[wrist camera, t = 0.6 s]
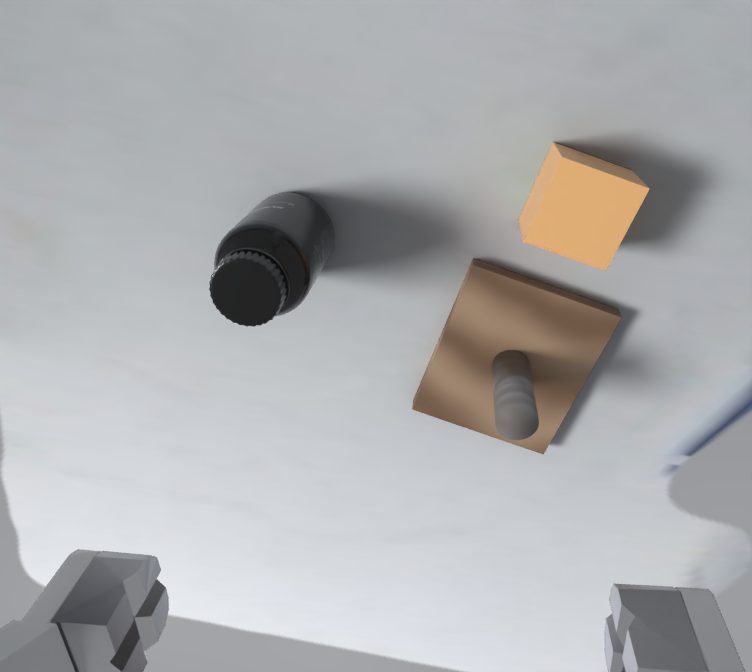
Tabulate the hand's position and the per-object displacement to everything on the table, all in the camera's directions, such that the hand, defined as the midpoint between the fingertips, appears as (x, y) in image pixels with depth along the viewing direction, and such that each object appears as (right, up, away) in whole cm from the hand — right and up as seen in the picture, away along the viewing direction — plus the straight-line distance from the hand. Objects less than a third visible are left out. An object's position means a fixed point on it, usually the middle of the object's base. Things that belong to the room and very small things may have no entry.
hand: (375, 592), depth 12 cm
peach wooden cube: (+14, +15, +36) cm, 41 cm away
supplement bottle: (-7, +13, +40) cm, 42 cm away
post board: (+11, +3, +42) cm, 44 cm away
